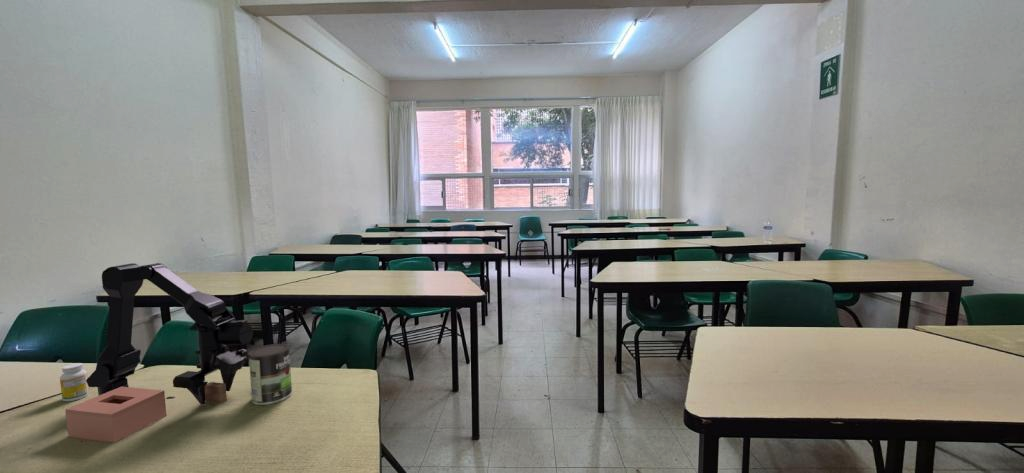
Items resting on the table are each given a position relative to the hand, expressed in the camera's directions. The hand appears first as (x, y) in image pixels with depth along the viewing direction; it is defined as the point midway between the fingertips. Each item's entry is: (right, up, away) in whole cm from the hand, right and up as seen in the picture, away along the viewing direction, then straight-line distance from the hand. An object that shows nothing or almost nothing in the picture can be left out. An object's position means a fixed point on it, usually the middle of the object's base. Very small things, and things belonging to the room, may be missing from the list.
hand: (215, 397), depth 114 cm
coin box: (-16, -2, -12) cm, 20 cm away
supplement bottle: (-43, -1, +3) cm, 43 cm away
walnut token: (0, -1, 0) cm, 1 cm away
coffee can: (+15, -1, +3) cm, 15 cm away
